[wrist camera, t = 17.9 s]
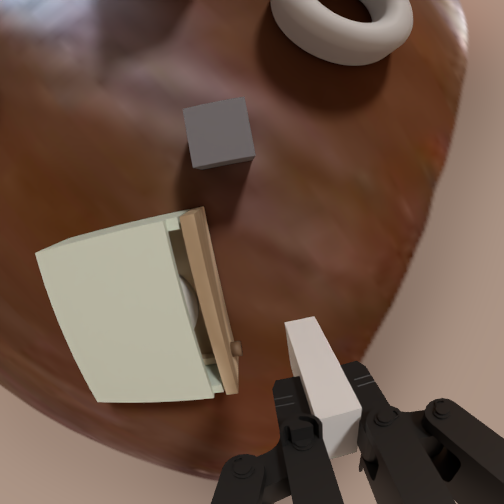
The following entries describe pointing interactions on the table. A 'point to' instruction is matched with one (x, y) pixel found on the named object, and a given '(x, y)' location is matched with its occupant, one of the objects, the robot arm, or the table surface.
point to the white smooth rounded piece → (190, 300)
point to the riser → (219, 133)
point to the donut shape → (345, 29)
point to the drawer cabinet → (128, 313)
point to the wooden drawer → (206, 295)
